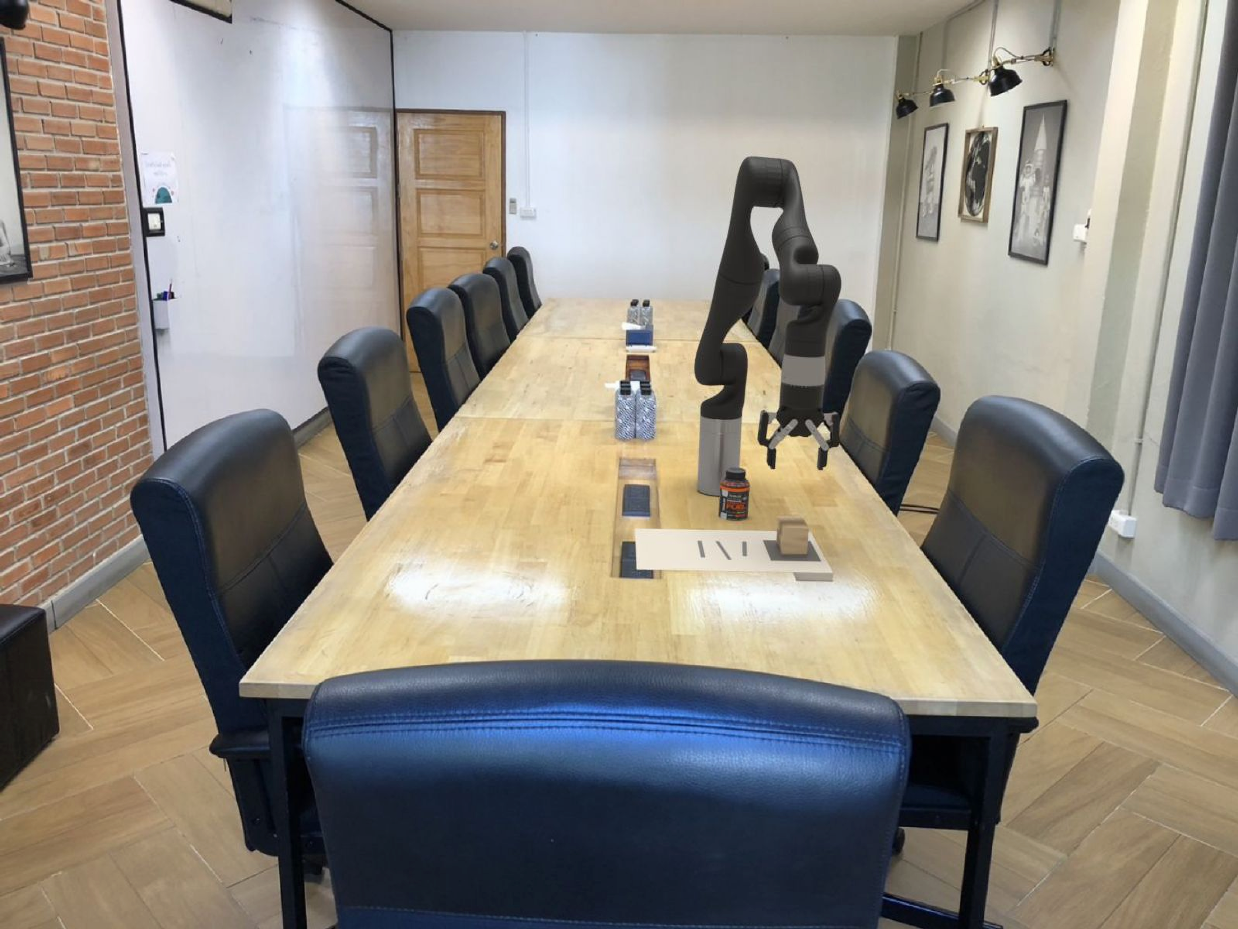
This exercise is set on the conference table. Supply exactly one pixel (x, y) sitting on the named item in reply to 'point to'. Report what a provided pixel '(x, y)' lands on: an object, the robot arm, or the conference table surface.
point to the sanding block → (792, 536)
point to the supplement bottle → (734, 495)
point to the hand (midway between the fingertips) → (795, 468)
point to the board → (725, 553)
